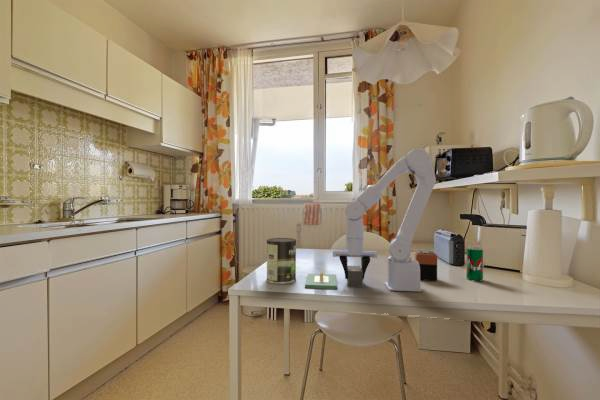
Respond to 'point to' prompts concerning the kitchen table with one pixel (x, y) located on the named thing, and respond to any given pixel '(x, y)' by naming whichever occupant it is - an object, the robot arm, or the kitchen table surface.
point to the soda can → (474, 262)
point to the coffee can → (281, 260)
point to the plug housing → (354, 276)
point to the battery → (427, 265)
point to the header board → (321, 281)
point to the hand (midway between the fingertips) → (354, 278)
